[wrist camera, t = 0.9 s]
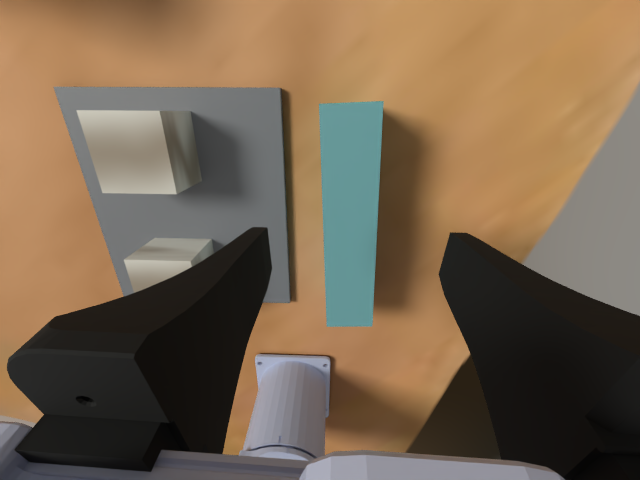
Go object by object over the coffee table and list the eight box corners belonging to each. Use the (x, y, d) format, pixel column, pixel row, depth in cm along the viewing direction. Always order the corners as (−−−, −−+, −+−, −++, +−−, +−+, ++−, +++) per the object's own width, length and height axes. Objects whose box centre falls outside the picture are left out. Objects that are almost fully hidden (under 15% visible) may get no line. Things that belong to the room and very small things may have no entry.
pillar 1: (202, 181, 22) (176, 194, 19) (139, 180, 22) (102, 193, 19) (190, 111, 20) (159, 110, 16) (122, 110, 20) (76, 110, 17)
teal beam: (365, 290, 27) (372, 326, 22) (327, 290, 27) (326, 326, 22) (371, 103, 20) (383, 101, 16) (321, 105, 20) (319, 103, 16)
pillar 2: (219, 288, 26) (201, 316, 23) (167, 286, 26) (140, 314, 23) (211, 238, 24) (190, 261, 21) (154, 237, 24) (123, 259, 21)
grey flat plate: (290, 299, 27) (289, 303, 27) (128, 294, 28) (124, 298, 27) (281, 88, 20) (279, 87, 19) (60, 87, 20) (53, 86, 20)
